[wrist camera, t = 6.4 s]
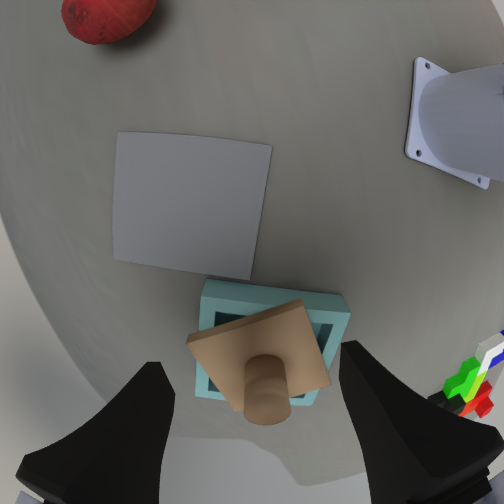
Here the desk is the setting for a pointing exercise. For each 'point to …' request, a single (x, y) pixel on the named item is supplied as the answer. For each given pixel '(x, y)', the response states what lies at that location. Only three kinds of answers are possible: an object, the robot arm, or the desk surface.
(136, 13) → the pomegranate
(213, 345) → the lid
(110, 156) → the desk surface
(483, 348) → the building blocks
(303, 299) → the dish
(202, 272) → the mat
